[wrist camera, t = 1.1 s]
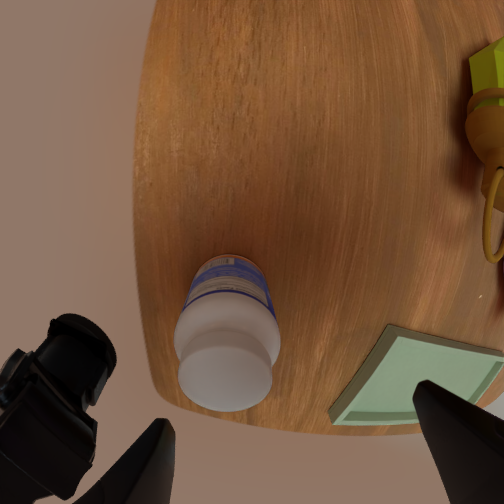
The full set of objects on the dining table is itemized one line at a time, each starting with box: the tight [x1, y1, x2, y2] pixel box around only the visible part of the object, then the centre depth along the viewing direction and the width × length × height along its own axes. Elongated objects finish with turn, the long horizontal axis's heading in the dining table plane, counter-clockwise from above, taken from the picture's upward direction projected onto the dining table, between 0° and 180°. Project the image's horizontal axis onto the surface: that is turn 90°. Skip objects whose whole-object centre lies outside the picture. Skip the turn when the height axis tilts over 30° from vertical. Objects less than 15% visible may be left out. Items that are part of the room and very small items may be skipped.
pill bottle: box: [174, 254, 281, 412], centre depth 15 cm, size 5×5×10 cm
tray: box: [328, 324, 504, 425], centre depth 24 cm, size 28×12×2 cm, turn 70°
